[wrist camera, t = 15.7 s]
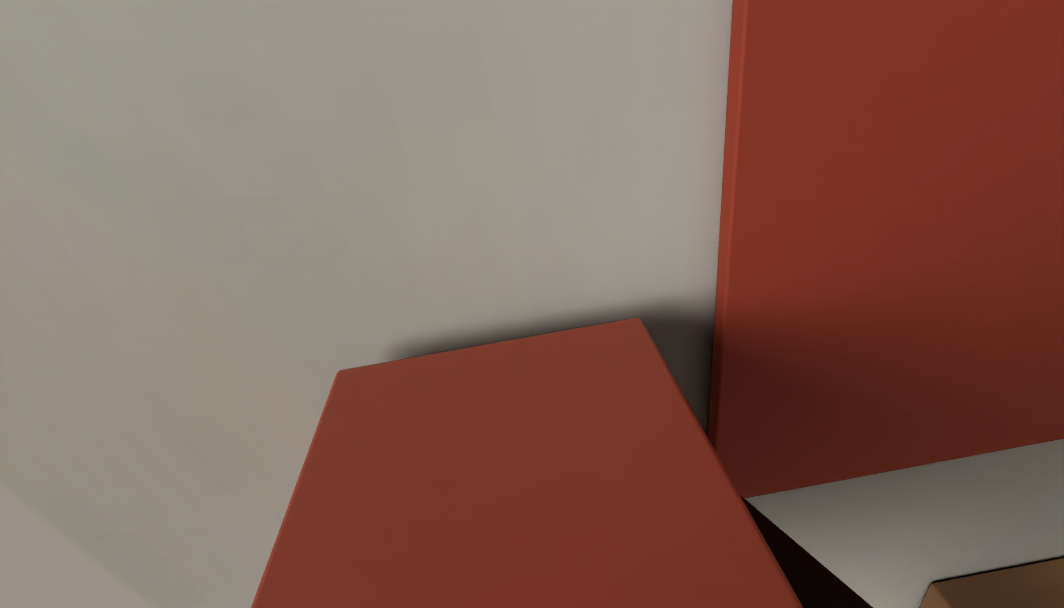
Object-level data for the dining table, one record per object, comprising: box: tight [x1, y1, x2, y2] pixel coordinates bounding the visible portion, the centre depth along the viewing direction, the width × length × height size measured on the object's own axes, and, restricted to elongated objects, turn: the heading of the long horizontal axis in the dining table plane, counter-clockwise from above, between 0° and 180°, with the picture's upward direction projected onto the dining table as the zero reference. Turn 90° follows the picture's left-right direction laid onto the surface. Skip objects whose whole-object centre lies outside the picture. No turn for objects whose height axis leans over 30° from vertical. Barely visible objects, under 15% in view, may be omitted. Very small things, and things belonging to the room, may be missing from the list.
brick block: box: [251, 318, 803, 608], centre depth 7 cm, size 5×5×5 cm
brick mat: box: [708, 0, 1064, 498], centre depth 9 cm, size 10×10×1 cm
